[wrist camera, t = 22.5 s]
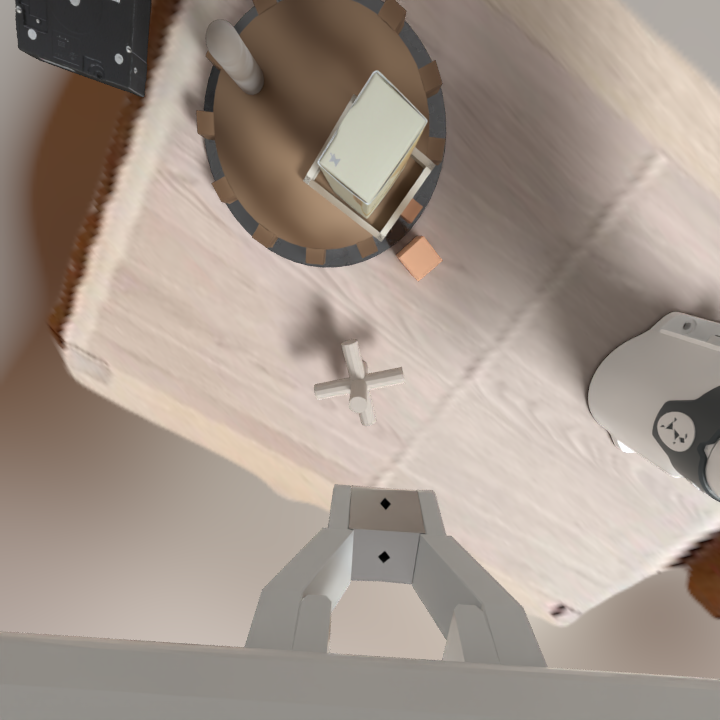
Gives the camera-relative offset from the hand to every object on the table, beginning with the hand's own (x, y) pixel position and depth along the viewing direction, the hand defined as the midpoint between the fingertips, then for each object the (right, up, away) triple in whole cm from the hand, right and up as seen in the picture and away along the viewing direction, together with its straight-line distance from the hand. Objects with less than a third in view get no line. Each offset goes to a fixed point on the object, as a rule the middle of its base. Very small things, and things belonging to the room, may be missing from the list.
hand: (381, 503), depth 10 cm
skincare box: (0, +22, +22) cm, 31 cm away
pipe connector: (-1, +3, +32) cm, 32 cm away
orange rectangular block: (+5, +16, +27) cm, 32 cm away
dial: (-4, +26, +24) cm, 35 cm away
